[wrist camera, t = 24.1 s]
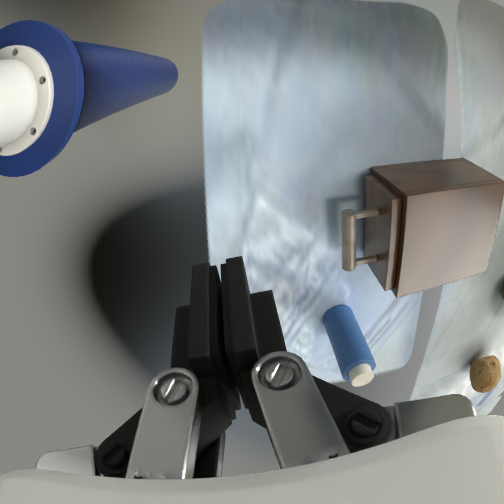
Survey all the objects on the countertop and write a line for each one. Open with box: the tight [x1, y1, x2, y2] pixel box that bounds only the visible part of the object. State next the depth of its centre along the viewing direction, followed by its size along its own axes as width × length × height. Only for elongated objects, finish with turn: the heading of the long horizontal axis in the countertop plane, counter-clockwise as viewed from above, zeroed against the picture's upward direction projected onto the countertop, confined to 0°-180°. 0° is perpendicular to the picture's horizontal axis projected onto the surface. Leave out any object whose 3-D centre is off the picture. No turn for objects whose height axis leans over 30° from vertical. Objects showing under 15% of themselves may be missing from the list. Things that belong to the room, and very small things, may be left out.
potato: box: [470, 356, 501, 393], centre depth 57 cm, size 9×9×10 cm
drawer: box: [341, 175, 403, 291], centre depth 34 cm, size 18×11×7 cm, turn 100°
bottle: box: [323, 305, 376, 387], centre depth 41 cm, size 5×5×12 cm
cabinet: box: [371, 158, 504, 298], centre depth 34 cm, size 15×13×9 cm
